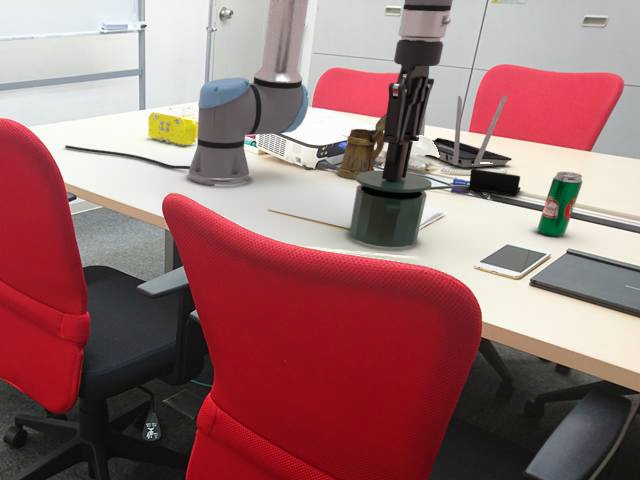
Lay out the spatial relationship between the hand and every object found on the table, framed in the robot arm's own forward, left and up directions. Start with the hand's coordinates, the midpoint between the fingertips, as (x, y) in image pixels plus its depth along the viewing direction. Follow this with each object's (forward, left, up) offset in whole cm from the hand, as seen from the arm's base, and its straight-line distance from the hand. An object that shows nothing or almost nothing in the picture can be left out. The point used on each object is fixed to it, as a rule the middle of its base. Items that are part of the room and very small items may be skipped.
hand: (393, 177), depth 122 cm
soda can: (+34, +13, -12) cm, 38 cm away
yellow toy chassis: (-59, +76, -12) cm, 97 cm away
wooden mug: (-2, +49, -12) cm, 51 cm away
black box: (+29, +44, -12) cm, 54 cm away
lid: (0, 0, -1) cm, 1 cm away
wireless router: (+24, +78, -12) cm, 83 cm away
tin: (0, 0, -12) cm, 12 cm away
